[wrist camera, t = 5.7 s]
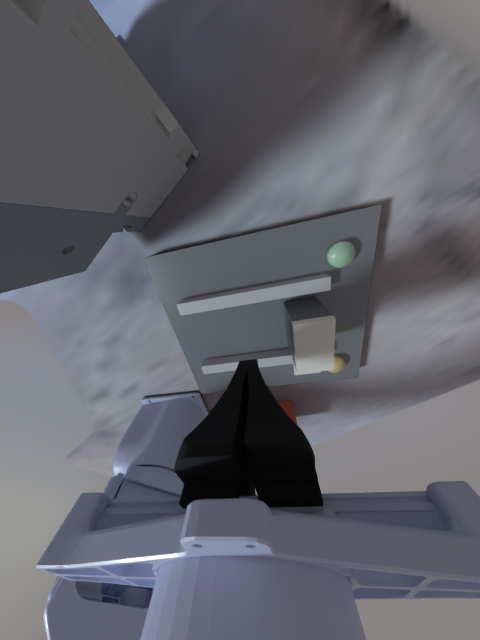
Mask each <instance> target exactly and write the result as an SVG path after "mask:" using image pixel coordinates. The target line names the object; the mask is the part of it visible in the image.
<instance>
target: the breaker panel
mask: <svg viewBox="0 0 480 640" xmlns="http://www.w3.org/2000/svg"><path fill="white" fill-rule="evenodd" d="M381 205H382V204H381ZM381 205H376V206H370V207H365V208H361V209H357V210H352V211H348V212H343V213H339V214H334V215H330V216H325V217H321V218H317V219H312V220H308V221H303V222H299V223H294V224H290V225H285V226H281V227H277V228H272V229H268V230H263V231H259V232H254V233H250V234H246V235H241V236H237V237H232V238H228V239H223V240H219V241H214V242H210V243H206V244H201V245H197V246H192V247H188V248H183V249H179V250H174V251H170V252H166V253H161V254H157V255H152V256H148V257H145V258H143V260H144V262H145V264H146V267H147V269H148V271H149V273H150V276H151V278H152V280H153V283H154V285H155V287H156V290H157V292H158V294H159V297H160V299H161V301H162V303H163V306H164V308H165V310H166V313H167V315H168V317H169V320H170V322H171V324H172V327H173V329H174V331H175V333H176V336H177V338H178V340H179V343H180V345H181V347H182V350H183V352H184V354H185V357H186V359H187V361H188V363H189V366H190V368H191V370H192V373H193V375H194V377H195V380H196V382H197V384H198V387H199V389H200V391H201V393H202V394H204V393H214V392H223V391H225V390H226V388H227V387H228V385H229V383H230V381H231V379H232V377H233V375H234V373H235V371H236V368H237V366H238V363H239V362H240V361H243V360H251V359H257V361H258V366H259V370H260V372H261V375H262V377H263V379H264V381H265V383H266V385H267V387H271V386H281V385H290V384H300V383H309V382H319V381H328V380H338V379H348V378H357V377H358V376H359V368H360V361H361V354H362V346H363V339H364V331H365V324H366V316H367V309H368V302H369V294H370V287H371V279H372V272H373V264H374V257H375V250H376V242H377V235H378V227H379V220H380V213H381ZM311 297H316V298H317V299H318V300H319V301H320V302H321V303H322V304H323V305H324V306H325V307H326V308H327V309H328V311H329V312H330V313H331V314H332V315H333V316H334V317H335V318H336V325H335V346H334V367H333V370H327V371H318V372H309V373H300V374H297V371H296V368H295V365H294V362H293V359H292V356H291V353H290V350H289V347H288V343H287V333H286V323H285V313H284V303H283V302H287V301H293V300H299V299H305V298H311Z"/></svg>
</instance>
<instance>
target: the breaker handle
mask: <svg viewBox="0 0 480 640" xmlns="http://www.w3.org/2000/svg"><path fill="white" fill-rule="evenodd" d="M283 303H284V313H285V323H286V333H287V343H288V347H289V350H290V353H291V356H292V359H293V362H294V365H295V368H296V371H297V374H300V373H309V372H318V371H327V370H333V367H334V346H335V325H336V318H335V317H334V316H333V315H332V314H331V313H330V312H329V311H328V309H327V308H326V307H325V306H324V305H323V304H322V303H321V302H320V301H319V300H318V299H317V298H316V297H311V298H305V299H299V300H293V301H287V302H283Z"/></svg>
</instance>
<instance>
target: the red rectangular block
mask: <svg viewBox="0 0 480 640" xmlns="http://www.w3.org/2000/svg"><path fill="white" fill-rule="evenodd" d="M277 402H278V403H279V405H280V406H281V407H282V408H283V410H284V411H285V412H286V413H287V415H288V416H289V417H290V418H291V419H292V420H293V421H294V422H295V423H296V424H297V422H296V418H295V413H294V409H293V405H292V401H291V400H288V401H277Z"/></svg>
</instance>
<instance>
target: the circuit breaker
mask: <svg viewBox="0 0 480 640" xmlns="http://www.w3.org/2000/svg"><path fill="white" fill-rule="evenodd" d="M192 155H193V156H194V157H195V158H196V159H197V158H198V156H199V155H200V154H199V152H198V151H197V150H196V148H195V147H194V145H193V144H192V142H191V141H190V139H189V138H188V136H187V135H186V133H185V132H184V130H183V129H182V127H181V126H180V125H179V123H178V122H177V120H176V119H175V118H174V116H173V115H172V114H171V112H170V111H169V109H168V108H167V107H166V105H165V104H164V103H163V101H162V100H161V99H160V97H159V96H158V94H157V93H156V92H155V90H154V89H153V88H152V86H151V85H150V83H149V82H148V81H147V79H146V78H145V77H144V75H143V74H142V73H141V71H140V70H139V68H138V67H137V66H136V64H135V63H134V62H133V60H132V59H131V57H130V56H129V55H128V53H127V52H126V51H125V49H124V48H123V47H122V45H121V44H120V42H119V41H118V40H117V38H116V37H115V36H114V34H113V33H112V32H111V30H110V29H109V27H108V26H107V25H106V23H105V22H104V21H103V19H102V18H101V16H100V15H99V14H98V12H97V11H96V10H95V8H94V7H93V6H92V4H91V3H90V1H89V0H0V293H3V292H7V291H11V290H15V289H19V288H22V287H26V286H30V285H34V284H38V283H41V282H45V281H49V280H53V279H57V278H60V277H64V276H68V275H72V274H75V273H79V272H83V271H85V270H86V269H87V268H88V266H89V265H90V263H91V262H92V261H93V259H94V258H95V257H96V255H97V254H98V252H99V251H100V250H101V248H102V247H103V245H104V244H105V243H106V241H107V240H108V238H109V237H110V236H111V234H112V233H113V232H123V228H124V229H125V230H126V231H127V232H132V231H141V230H142V228H143V227H144V226H145V224H146V223H147V222H148V221H149V219H150V218H151V217H152V215H153V214H154V213H155V212H156V210H157V209H158V208H159V206H160V205H161V204H162V203H163V201H164V200H165V199H166V197H167V196H168V195H169V194H170V192H171V191H172V190H173V188H174V187H175V186H176V185H177V183H178V182H179V181H180V179H181V178H182V177H183V176H184V174H185V173H186V172H187V170H188V168H187V166H186V165H185V164H186V162H187V161H188V160H189V158H190V157H191V156H192Z"/></svg>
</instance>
